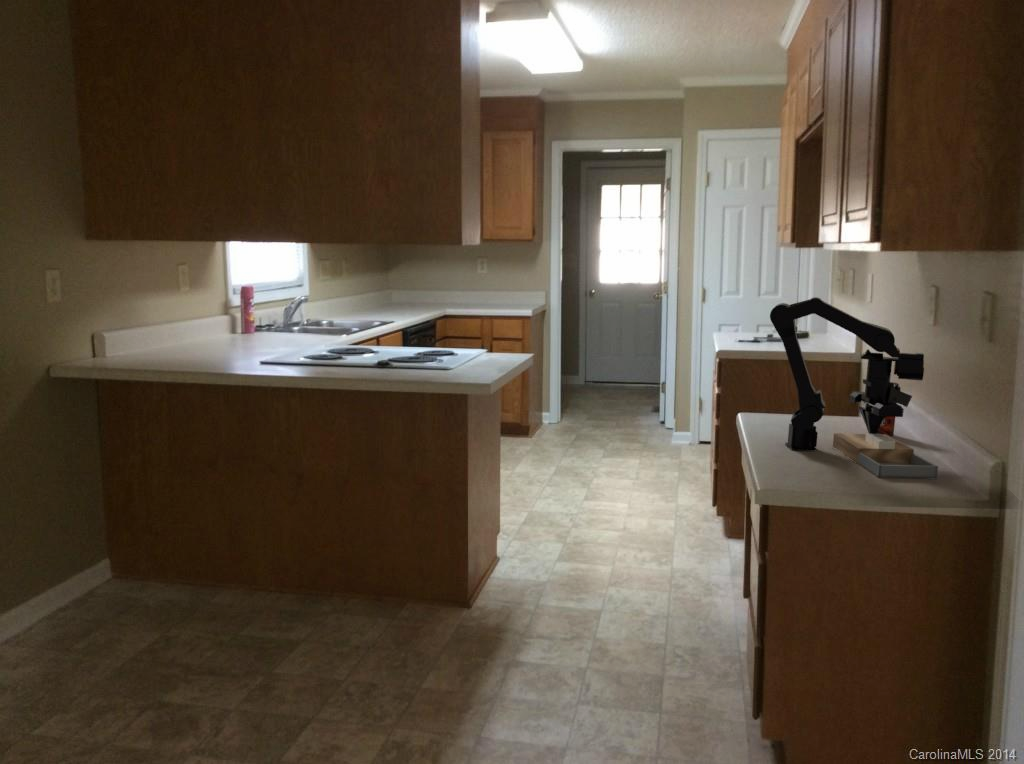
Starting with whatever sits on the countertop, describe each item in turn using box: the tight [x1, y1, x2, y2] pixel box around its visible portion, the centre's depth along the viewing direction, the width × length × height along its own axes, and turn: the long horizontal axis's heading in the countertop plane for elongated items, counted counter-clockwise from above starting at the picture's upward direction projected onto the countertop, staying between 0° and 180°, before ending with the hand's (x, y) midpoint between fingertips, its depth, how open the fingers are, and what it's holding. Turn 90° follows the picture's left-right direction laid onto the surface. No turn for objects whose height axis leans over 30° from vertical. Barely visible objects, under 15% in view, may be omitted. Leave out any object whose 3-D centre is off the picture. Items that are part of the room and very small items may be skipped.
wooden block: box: [832, 432, 915, 464], centre depth 227 cm, size 14×16×4 cm
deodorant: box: [876, 381, 900, 437], centre depth 251 cm, size 6×6×15 cm
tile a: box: [865, 433, 888, 445], centre depth 225 cm, size 4×4×2 cm
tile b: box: [872, 437, 895, 449], centre depth 221 cm, size 4×4×2 cm
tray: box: [856, 452, 939, 479], centre depth 214 cm, size 14×12×3 cm
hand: (872, 436), depth 227 cm, fingers closed
